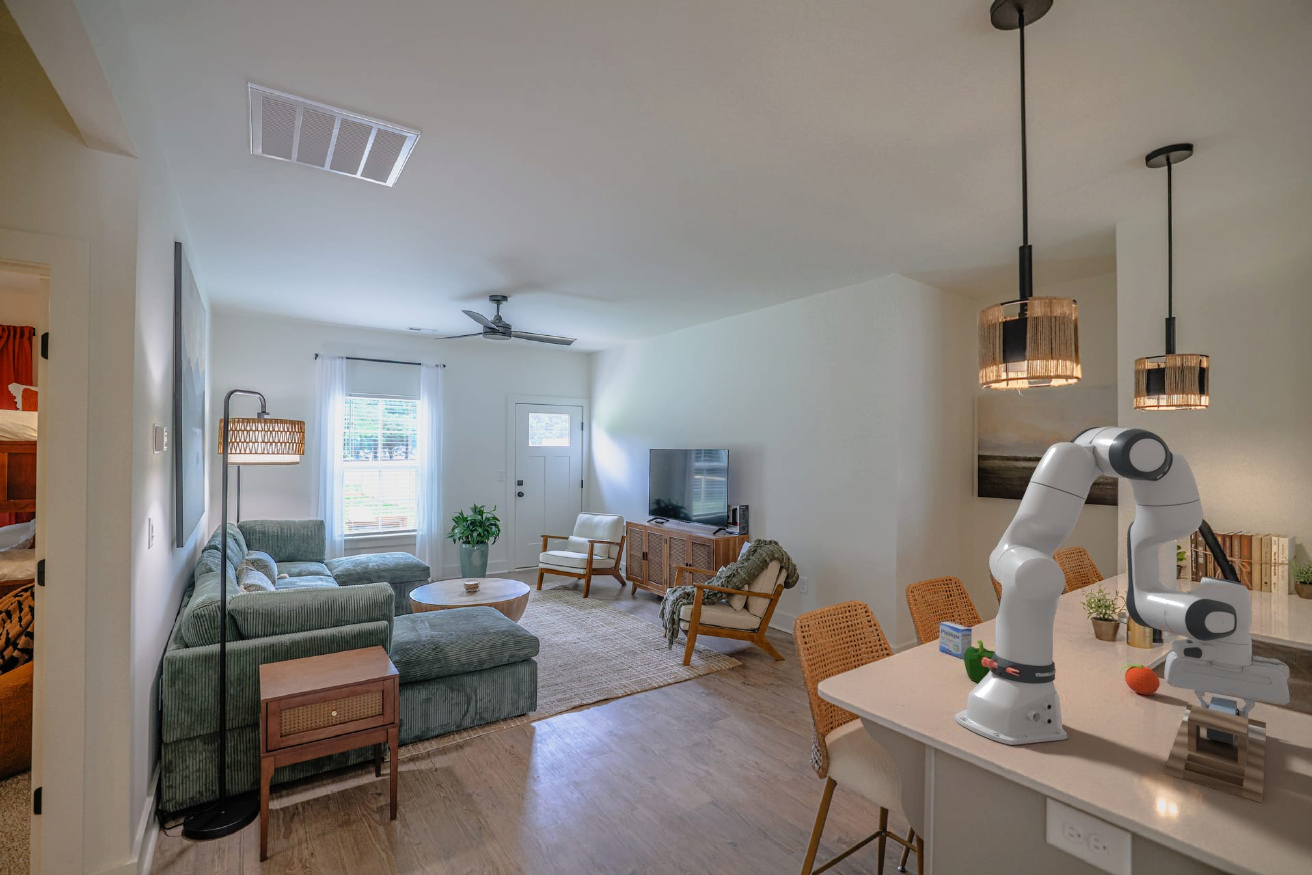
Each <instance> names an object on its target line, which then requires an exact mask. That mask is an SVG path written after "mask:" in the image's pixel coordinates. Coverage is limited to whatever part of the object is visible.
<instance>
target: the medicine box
mask: <svg viewBox="0 0 1312 875" xmlns="http://www.w3.org/2000/svg"><path fill="white" fill-rule="evenodd" d="M972 634H973V629H972V628H971V627H968V626H965V625H961V624H957V623H955V622H952V621H942V622H940V623H939V640H938V641H939V645H938V648H939V649H938V650H939V651H940V652H941V653H944V654H946V655H949V656H952V657H956V658H958V659H961V660H962V659H963V660H964V653H965V651H966V650H967V648H969V647H970V646H972V641H973V640H972V637H973V636H972Z"/></svg>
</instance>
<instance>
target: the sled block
mask: <svg viewBox="0 0 1312 875" xmlns="http://www.w3.org/2000/svg"><path fill="white" fill-rule="evenodd" d="M1209 703H1210V706H1209V709H1212V710H1216V711H1220V712H1224V713H1229V714H1233V715H1237V708H1238V701H1237V700H1235V699H1231V698H1230V699H1229V698H1226V697H1221V696H1218V695H1212V696H1211V699H1210V702H1209ZM1234 737H1235V735H1234V734H1230V733H1226V732H1222V731H1218V730H1214V729H1210V728H1207V738H1209V739H1213V740H1217V741H1221V742H1225V743H1229V744H1233V743H1234Z"/></svg>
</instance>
